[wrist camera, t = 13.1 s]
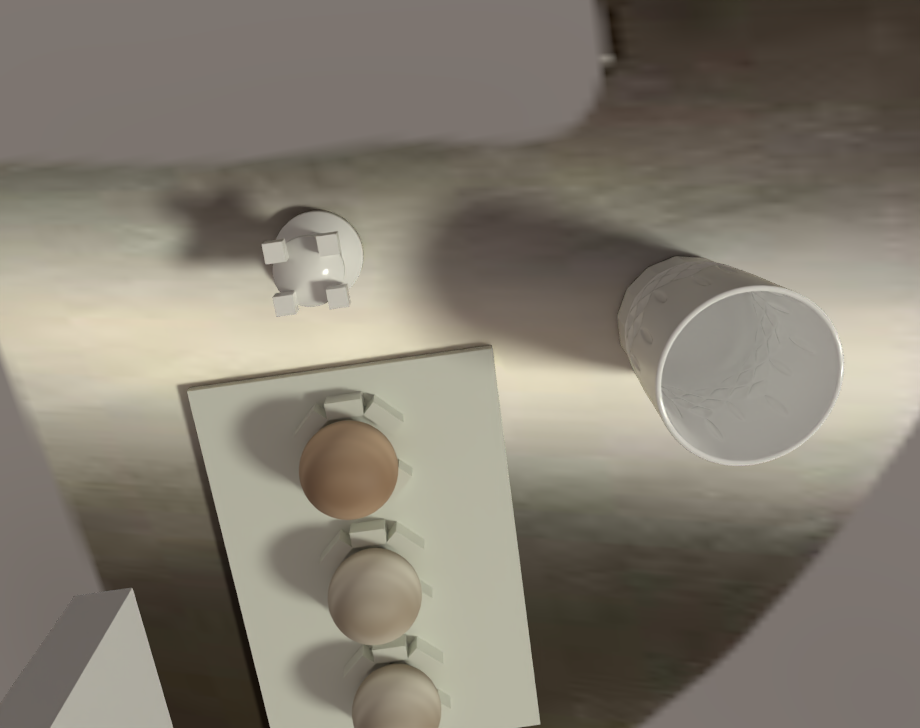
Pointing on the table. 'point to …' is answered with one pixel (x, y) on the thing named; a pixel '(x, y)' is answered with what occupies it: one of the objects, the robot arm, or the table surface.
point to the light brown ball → (348, 470)
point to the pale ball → (396, 699)
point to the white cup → (730, 359)
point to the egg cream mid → (374, 596)
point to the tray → (375, 535)
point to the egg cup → (314, 261)
